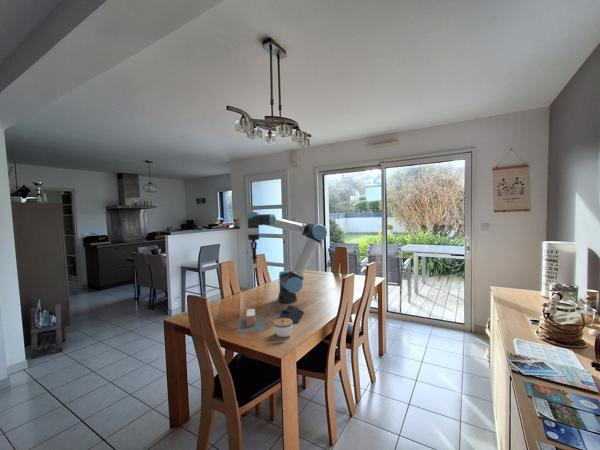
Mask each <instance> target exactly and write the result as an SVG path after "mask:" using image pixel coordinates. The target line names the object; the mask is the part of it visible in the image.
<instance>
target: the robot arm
mask: <svg viewBox="0 0 600 450" xmlns="http://www.w3.org/2000/svg"><path fill="white" fill-rule="evenodd" d="M246 220H247V229H246V231H247V234H248V235H247V237H248V238H247V239H248V241H251V242H250V246H251V250H252V252H251V253H252V257H251V260H252V268H253V269H257V268H258V267H257V264H258V263H257V262H258V261H257V259H258V257H257V245H258V244H257V241H258V240H260V226H268V227H273V228H277V229H281V230H284V231H285V230H286V231H288V232H289V231H290V232H294V233H298V234H299V235H300V236H305V239H306V242H305V243H304V245H303V248H302V249H301V251H300V254H299V255H298V256H297V257H298V258H297V260H296V261H295V264H294V265H293V268H292V269H290V270H282V271H279V274H278V280H279V281H278V282H279V292H278V296H277V302H278V303H281V304H292V303H296V302H298V296H297V293H299V292H300V291H301V289H302V288H303V285H304V284H303V280H304V278H305V277H304V273H305V271H306V269H307V267H308V266H309V264H310V261H311V259H312V256H313V255H314V252H315V250H316V249H317V246H319V245H321V243H322V241H323V240H325V239H326V238H327V236H328V230H327V227H326V226H325V225H323V224H321V223H307V222H306V223H305V222H302V223H299V222H296V221H292V220H287V219H284V218H279V217H276V215H275V214H273V213H268V214H259V211H249V212H247V219H246Z"/></svg>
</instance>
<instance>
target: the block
mask: <svg viewBox="0 0 600 450" xmlns="http://www.w3.org/2000/svg"><path fill="white" fill-rule="evenodd" d="M255 317H256V308H250V309H249V308H248V309H246V317H245V318H246V319H247V326H255Z"/></svg>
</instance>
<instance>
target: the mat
mask: <svg viewBox="0 0 600 450" xmlns="http://www.w3.org/2000/svg"><path fill="white" fill-rule="evenodd" d="M236 327H237V328H236V331H235V332H236V334H237V333H238V334H239V333H240V334H241V333H251V332H259V331H266V328H265V327H266V326H265V316H264V315H261V316H255V326H247V319H246V317H242V318H241V317H239V318H238V322H237V326H236Z"/></svg>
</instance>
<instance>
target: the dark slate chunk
mask: <svg viewBox="0 0 600 450" xmlns="http://www.w3.org/2000/svg"><path fill="white" fill-rule="evenodd" d="M304 313H305V312H304V311H303V310H300V309H299V307H297V306H292V305H288V306H287V307H286V309H285V310H284V309H283V310H281V313H280V315H279V318H278V319H280V318H288V319H291V320H292V321H293V324H299V323H300V321H301V320H302V318H303V315H304Z"/></svg>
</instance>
